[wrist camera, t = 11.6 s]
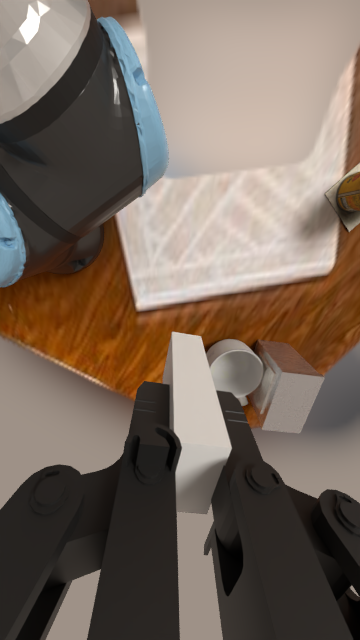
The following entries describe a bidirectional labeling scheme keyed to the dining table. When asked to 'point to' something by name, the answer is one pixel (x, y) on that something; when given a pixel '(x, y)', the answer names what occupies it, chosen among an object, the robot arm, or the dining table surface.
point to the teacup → (235, 368)
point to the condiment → (347, 198)
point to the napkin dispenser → (284, 388)
